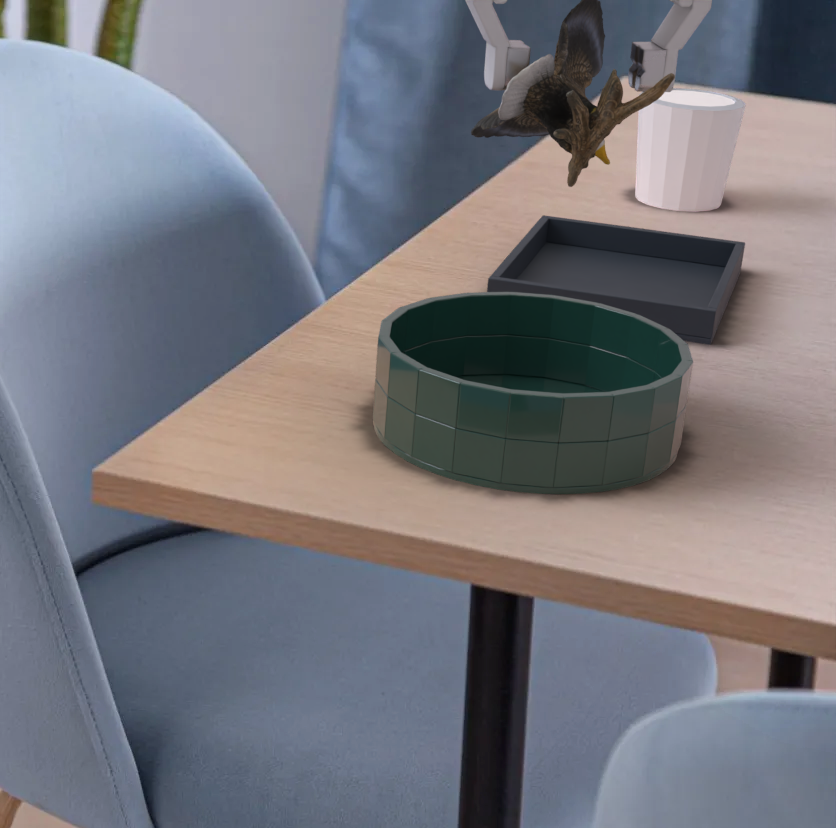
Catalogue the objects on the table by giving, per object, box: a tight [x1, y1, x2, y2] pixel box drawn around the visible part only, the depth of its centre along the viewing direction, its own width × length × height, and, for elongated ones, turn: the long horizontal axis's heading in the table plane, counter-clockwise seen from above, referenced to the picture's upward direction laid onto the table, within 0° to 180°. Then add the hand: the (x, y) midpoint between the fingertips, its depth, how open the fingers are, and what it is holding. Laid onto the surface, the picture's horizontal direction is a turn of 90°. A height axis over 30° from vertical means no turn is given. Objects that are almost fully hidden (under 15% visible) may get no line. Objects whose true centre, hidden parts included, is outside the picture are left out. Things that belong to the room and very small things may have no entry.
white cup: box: [634, 87, 747, 213], centre depth 116 cm, size 7×7×7 cm
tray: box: [486, 214, 746, 346], centre depth 98 cm, size 14×12×2 cm
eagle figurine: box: [470, 0, 676, 188], centre depth 73 cm, size 8×7×9 cm
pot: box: [372, 291, 694, 495], centre depth 78 cm, size 14×14×4 cm
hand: (576, 88), depth 73 cm, fingers closed on eagle figurine, 5 cm apart
